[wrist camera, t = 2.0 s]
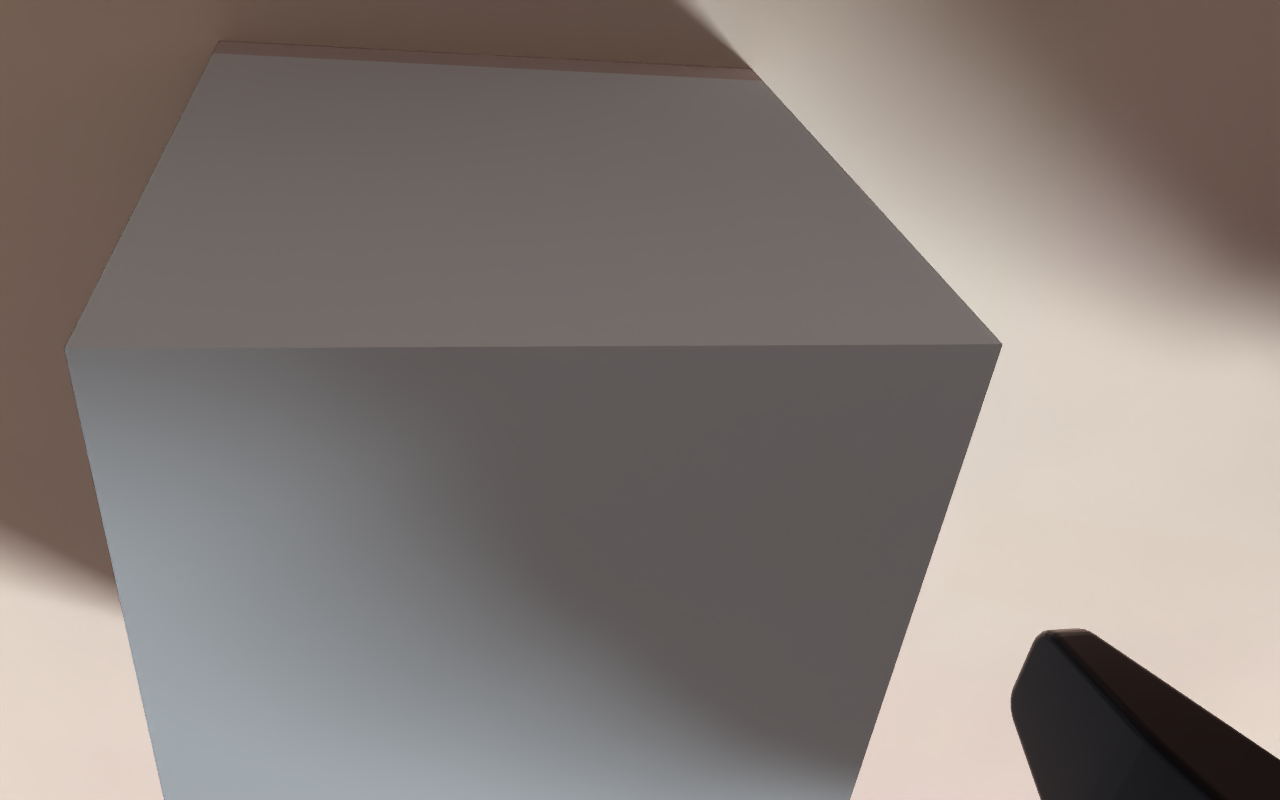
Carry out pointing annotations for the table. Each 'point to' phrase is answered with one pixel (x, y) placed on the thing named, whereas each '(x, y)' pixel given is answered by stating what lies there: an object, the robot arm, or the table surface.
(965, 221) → the table surface
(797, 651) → the block
